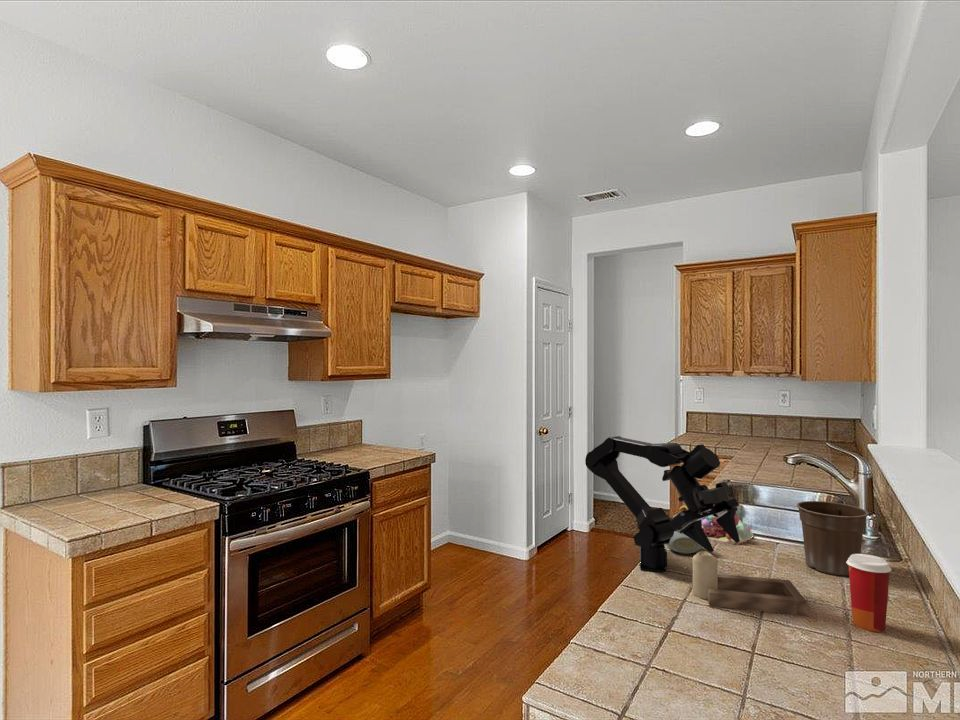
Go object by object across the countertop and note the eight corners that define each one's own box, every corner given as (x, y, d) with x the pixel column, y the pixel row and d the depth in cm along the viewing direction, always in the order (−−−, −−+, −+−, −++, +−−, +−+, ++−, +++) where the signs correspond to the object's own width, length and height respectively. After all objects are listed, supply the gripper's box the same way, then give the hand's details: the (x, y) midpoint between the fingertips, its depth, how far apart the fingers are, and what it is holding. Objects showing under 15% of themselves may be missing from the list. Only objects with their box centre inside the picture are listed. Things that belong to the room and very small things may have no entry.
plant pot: (792, 553, 157) (792, 497, 157) (858, 561, 151) (858, 503, 151) (802, 574, 142) (802, 512, 142) (876, 583, 136) (876, 519, 136)
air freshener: (701, 547, 162) (701, 513, 162) (705, 557, 154) (706, 522, 154) (662, 544, 165) (662, 511, 165) (665, 554, 157) (665, 519, 157)
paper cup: (883, 620, 117) (883, 555, 117) (897, 637, 110) (897, 568, 110) (841, 614, 119) (841, 551, 119) (852, 631, 112) (852, 563, 112)
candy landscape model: (661, 533, 177) (661, 504, 177) (683, 516, 196) (683, 490, 195) (745, 549, 162) (745, 518, 162) (760, 529, 180) (760, 501, 180)
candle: (719, 600, 126) (719, 557, 126) (694, 598, 127) (694, 556, 127) (714, 590, 132) (714, 549, 132) (690, 588, 133) (690, 548, 133)
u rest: (709, 605, 124) (709, 592, 124) (700, 584, 135) (700, 572, 135) (806, 615, 119) (806, 601, 119) (789, 592, 131) (789, 580, 131)
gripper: (680, 479, 127) (719, 543, 119) (734, 465, 136) (773, 523, 128) (655, 500, 135) (690, 561, 127) (707, 486, 144) (742, 542, 135)
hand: (725, 546), depth 129 cm, fingers open, 9 cm apart
